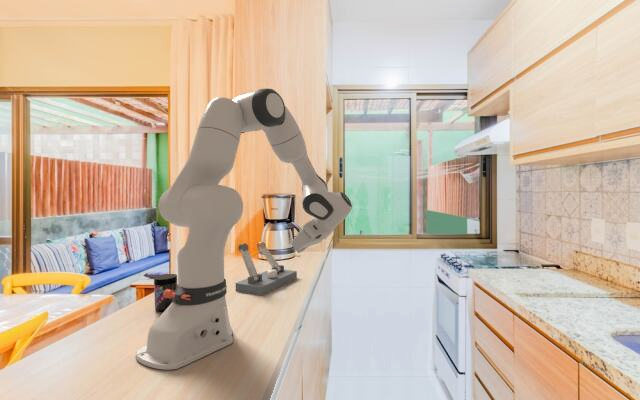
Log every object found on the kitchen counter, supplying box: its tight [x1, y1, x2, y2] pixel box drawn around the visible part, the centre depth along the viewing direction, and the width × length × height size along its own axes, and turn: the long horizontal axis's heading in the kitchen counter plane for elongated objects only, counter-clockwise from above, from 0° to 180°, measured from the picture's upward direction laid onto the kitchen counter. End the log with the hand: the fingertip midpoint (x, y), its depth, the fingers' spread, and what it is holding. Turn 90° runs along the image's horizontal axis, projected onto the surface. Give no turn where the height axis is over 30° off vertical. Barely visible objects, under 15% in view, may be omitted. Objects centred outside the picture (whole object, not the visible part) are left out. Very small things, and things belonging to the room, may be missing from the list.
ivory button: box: [267, 268, 277, 278], centre depth 125 cm, size 4×4×3 cm
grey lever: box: [237, 242, 260, 282], centre depth 120 cm, size 3×3×15 cm
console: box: [235, 264, 298, 296], centre depth 126 cm, size 24×12×5 cm, turn 153°
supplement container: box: [153, 273, 178, 313], centre depth 101 cm, size 7×7×10 cm
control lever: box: [256, 241, 282, 272], centre depth 134 cm, size 3×3×15 cm
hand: (299, 251), depth 127 cm, fingers closed
